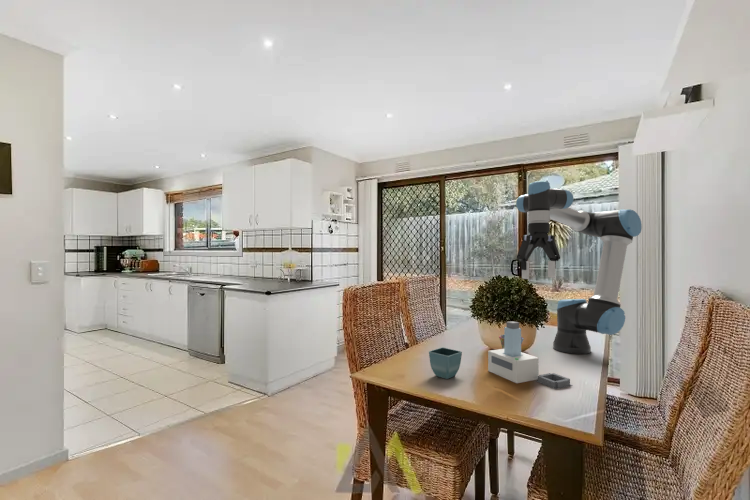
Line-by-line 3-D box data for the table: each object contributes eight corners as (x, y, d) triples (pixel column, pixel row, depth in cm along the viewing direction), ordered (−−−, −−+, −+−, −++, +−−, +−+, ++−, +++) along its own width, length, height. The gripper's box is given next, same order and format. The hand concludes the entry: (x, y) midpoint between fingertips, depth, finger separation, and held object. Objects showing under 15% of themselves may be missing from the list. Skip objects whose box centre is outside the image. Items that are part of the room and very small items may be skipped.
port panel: (508, 368, 141) (508, 346, 141) (538, 380, 128) (538, 356, 128) (487, 372, 137) (487, 349, 137) (516, 385, 124) (516, 360, 124)
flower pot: (442, 370, 139) (442, 346, 139) (462, 376, 133) (462, 351, 133) (428, 376, 133) (428, 351, 133) (448, 382, 126) (448, 356, 126)
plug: (512, 361, 135) (512, 320, 135) (521, 364, 131) (521, 322, 131) (504, 363, 133) (504, 321, 133) (512, 366, 130) (512, 323, 130)
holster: (552, 379, 129) (552, 372, 129) (572, 387, 122) (572, 379, 122) (535, 382, 126) (535, 375, 126) (555, 390, 119) (555, 383, 119)
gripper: (553, 224, 149) (553, 276, 149) (506, 222, 139) (506, 278, 139) (570, 222, 142) (570, 277, 142) (521, 220, 132) (521, 280, 132)
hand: (538, 278), depth 140 cm, fingers open, 13 cm apart
